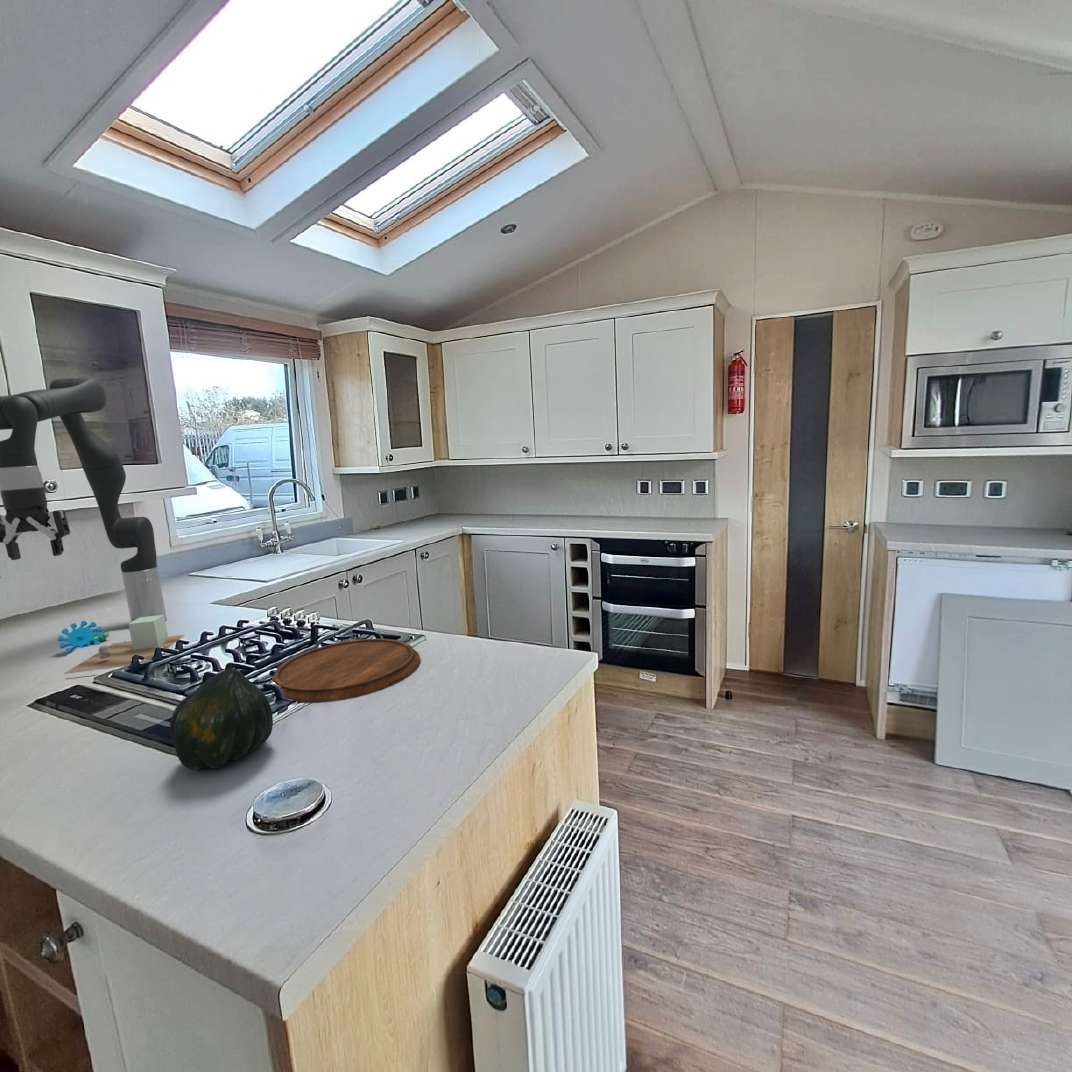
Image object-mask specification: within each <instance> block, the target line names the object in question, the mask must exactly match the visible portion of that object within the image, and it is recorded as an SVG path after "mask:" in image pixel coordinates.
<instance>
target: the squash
mask: <svg viewBox="0 0 1072 1072" xmlns="http://www.w3.org/2000/svg"><path fill="white" fill-rule="evenodd" d="M273 717H274V716H273V713H272V706H271V704H270V701H269V700H268V698H267V696H266V695H265V693H264V692H263V691H262V690H261V689H260V688H259V687H258V686H257V685H256V684H255V683H254V682H252V681H251V680H250V679H248V678H247V676H245V675H244V674H243V673H242V672H241V671H240V670H238V669H236V668H235V667H233V668H228V669H224V670H222V671H220V672H218V673H217V674H214V675H213V676H211V677H210V678H209V679H207V680H206V681H205V682H203V683H202V684H200V686H198V687H197V688H196V689H194V690H193V692H191V693H190V694H189V695H187V696H185V697H184V698H183V699H182V700H181V701H180V702H179V704H178V705H177V706H176V707H175V709H174V710H173V713H172V715H171V719H170V722H169V723H170V724H169V733H170V739H171V742H172V743H173V746H174V747H173V748H175V752H176V753H175V754H176V756H177V758H178V761H179V762H180V763H181V764H182V765H183V766H184V767H185V768H186V769H188V770H191V771H201V770H205V769H207V768H210V769H214V770H215V769H219V768H221V767H223V766H224V765H226V764H227V763H228V762H229V761H230V759H231V760H233V761H235V760H240V759H242V758H244V757H245V756H246V755H247V754H249V753H251V752H252V751H255V749H257V748H259V747H261V746H263V745H264V743H266V742H267V740H268V739H269V738H270V736H271V735H272V731H273V726H274V725H273V724H274V718H273Z"/></svg>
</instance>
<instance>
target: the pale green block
mask: <svg viewBox="0 0 1072 1072" xmlns="http://www.w3.org/2000/svg"><path fill="white" fill-rule="evenodd" d="M128 630H129V634H130V641H132V646H133V650H137V649H146V648H154V647H159V646H161V645H162V644H163V643H165V642H166V641H167V640H169V639H168V637H169V635H168V629H167V623H166V620H165V617H164V615H158V616H149V617H140V618H138V619H136V620H134V621H133V622H131V621H130V623H128Z"/></svg>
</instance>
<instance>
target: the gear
mask: <svg viewBox="0 0 1072 1072" xmlns="http://www.w3.org/2000/svg"><path fill="white" fill-rule="evenodd" d="M77 627H78V628H77ZM95 627H96V628H95ZM70 629H72V630H71V632H69V630H68V628H66V627H65V628H64V629H62V630H61V633H62V634H63V635H66V636H67V637H64V636H63V635H58V638H57V641H58V642H60V643H59V644H58V646H59V648H60V649H64V651H65V652H66V653H67V654H71V653H72V652H73V650H75V649H77V648H79V649H83V648H84V647H91V643H93V645H94V646H98V645H99V644H101V643H102V642H105V641H106V640H107V638H109V637H110V634H109V632H108V631H105V632H104V633H101V632H103V627H102V626H97V623H96V622H95V621H91V622H90V624H88V622H87V620H81V621H80V626H78V625H77V623H76V622H74V623H72V622H71V623H70ZM96 632H99V633H96ZM64 642H66V643H64Z"/></svg>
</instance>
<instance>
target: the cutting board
mask: <svg viewBox="0 0 1072 1072" xmlns="http://www.w3.org/2000/svg"><path fill="white" fill-rule="evenodd" d="M420 664H421V656H420V654H419V652H418V651H417V650H415V649H414V647H413V646H412V645H410V643H407V642H405V641H402V640H398V639H392V638H364V639H360V638H359V639H351V640H345V641H340V642H336V643H335V642H334V643H330V644H327V645H322V646H319V647H316V648H313V649H310V650H307V651H305V652H302V653H300V654H297V655H295V656H293V657H292V658H290V659H288V660H286V661H285V662H283V663H281V665H280V666H278V667H277V668H276V670H275V671H274V674H273V675H274V676H273V675H272V677H271V678H272V681H273V682H275V683H276V684H277V685H280V686H281V687H282V689H283V692H284V696H285V697H286V698H288V699H293V700H295V701H297V702H296V703H307V704H309V703H327V702H336V701H341V700H343V701H344V700H348V699H352V698H358V697H361V696H366V695H368V694H369V695H370V694H372V693H375V692H378V691H381V690H384V689H387V688H389V687H392V686H394V685H396V684H398V683H399V682H401V681H403V680H405V679H407V678H408V677H410V676H411V675H412V674H413V673H414V672H416V670H417V669H418V667H419V666H420Z"/></svg>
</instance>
